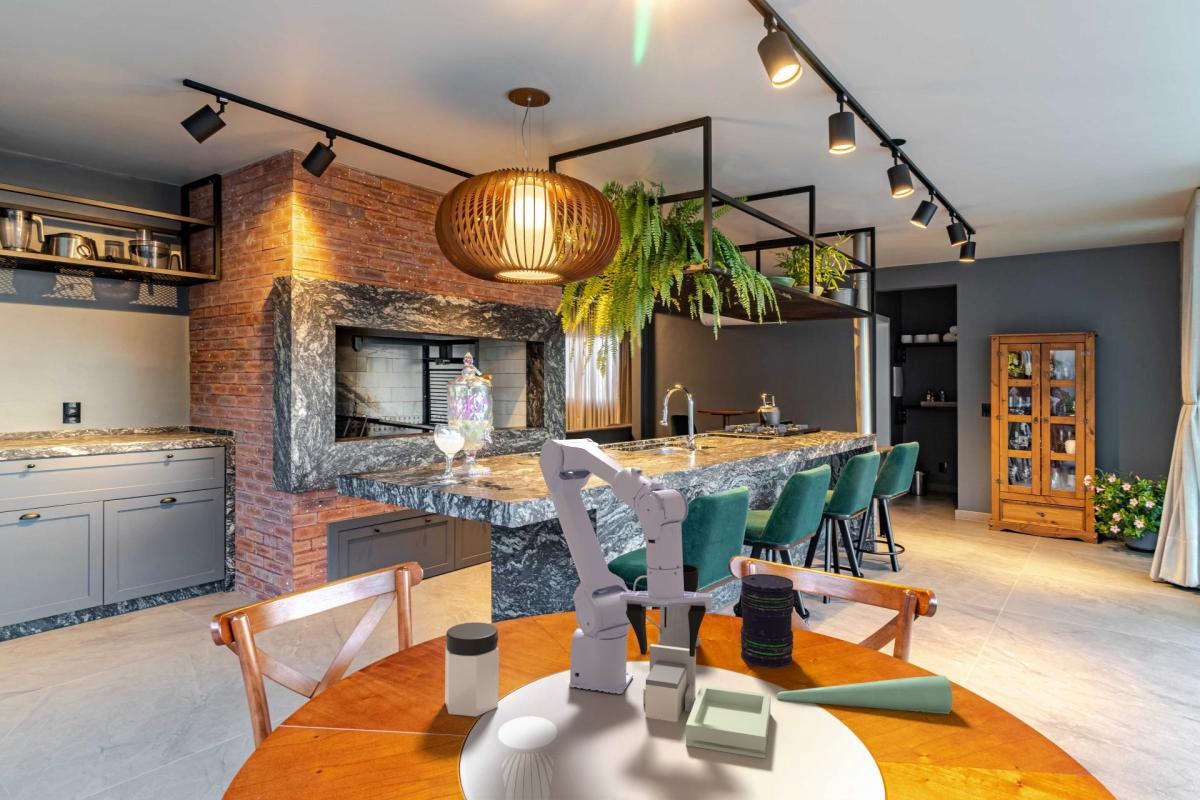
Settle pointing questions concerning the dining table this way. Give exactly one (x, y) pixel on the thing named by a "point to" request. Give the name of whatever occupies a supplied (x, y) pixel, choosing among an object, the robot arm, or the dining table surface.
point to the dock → (676, 657)
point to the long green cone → (883, 694)
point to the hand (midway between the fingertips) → (668, 653)
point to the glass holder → (677, 614)
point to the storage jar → (767, 620)
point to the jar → (471, 669)
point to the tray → (729, 721)
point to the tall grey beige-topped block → (665, 691)
